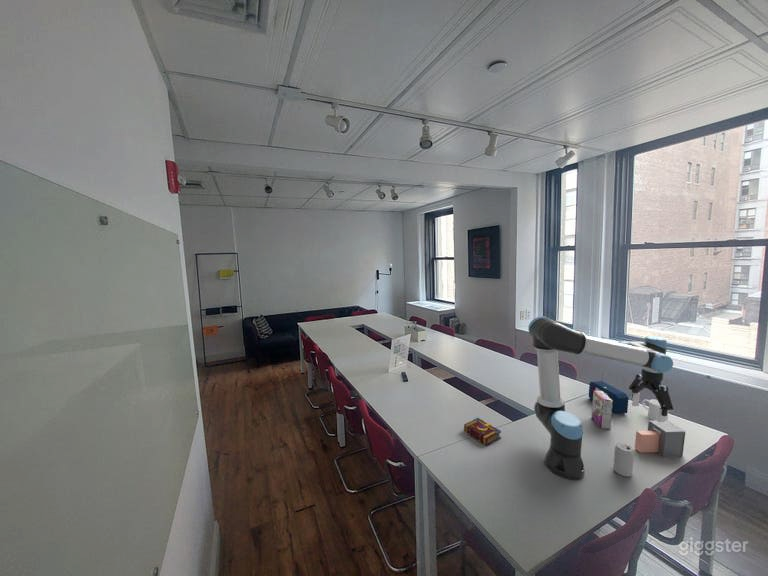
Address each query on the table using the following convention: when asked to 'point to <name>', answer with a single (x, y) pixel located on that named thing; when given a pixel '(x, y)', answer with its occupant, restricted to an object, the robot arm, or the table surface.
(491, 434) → the decorative book
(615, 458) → the beverage can
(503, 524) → the table surface
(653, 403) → the mug
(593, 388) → the radio
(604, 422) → the candy bar box
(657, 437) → the tall pink prism
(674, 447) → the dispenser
